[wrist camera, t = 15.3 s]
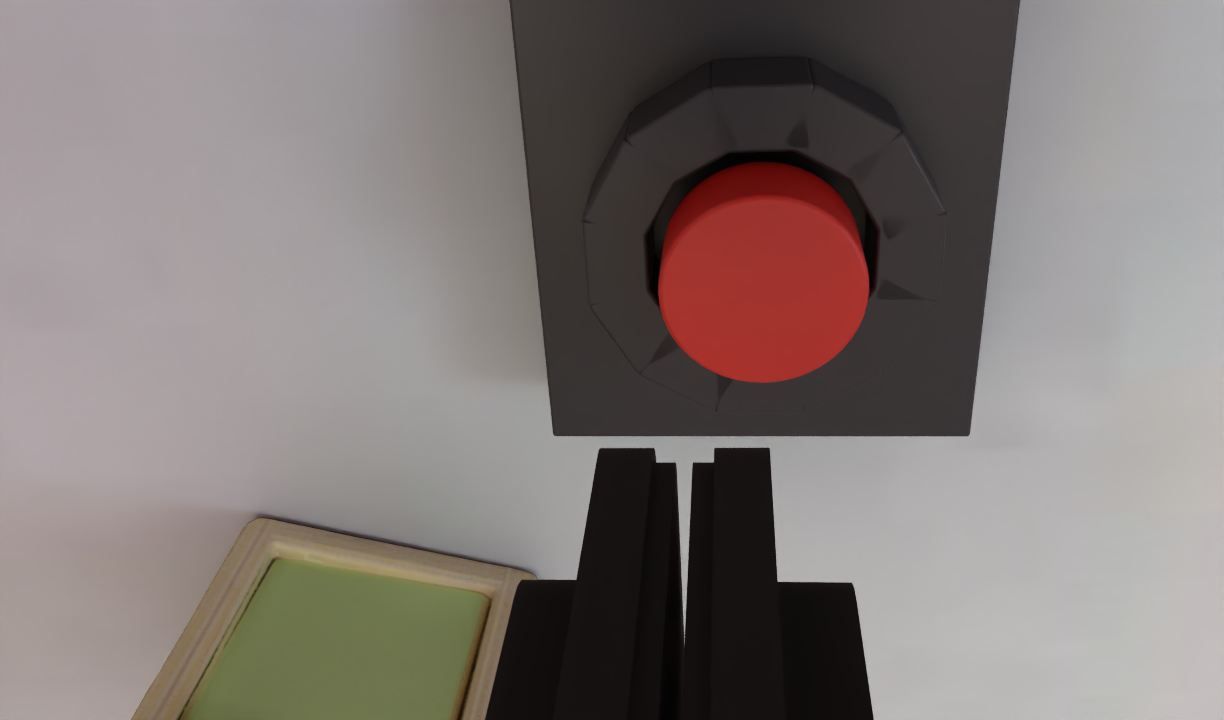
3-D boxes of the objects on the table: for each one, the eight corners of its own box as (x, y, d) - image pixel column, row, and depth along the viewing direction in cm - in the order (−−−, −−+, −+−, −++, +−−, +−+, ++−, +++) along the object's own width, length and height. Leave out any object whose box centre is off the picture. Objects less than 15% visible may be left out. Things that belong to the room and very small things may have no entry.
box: (524, -54, 22) (486, -12, 18) (1000, -77, 21) (1054, -37, 17) (565, 386, 27) (540, 485, 23) (951, 384, 26) (986, 486, 22)
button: (659, 162, 20) (653, 198, 18) (864, 156, 20) (876, 192, 18) (666, 339, 22) (661, 385, 20) (854, 337, 21) (864, 384, 20)
